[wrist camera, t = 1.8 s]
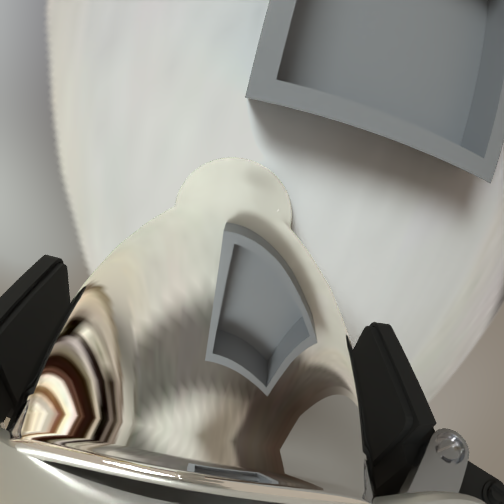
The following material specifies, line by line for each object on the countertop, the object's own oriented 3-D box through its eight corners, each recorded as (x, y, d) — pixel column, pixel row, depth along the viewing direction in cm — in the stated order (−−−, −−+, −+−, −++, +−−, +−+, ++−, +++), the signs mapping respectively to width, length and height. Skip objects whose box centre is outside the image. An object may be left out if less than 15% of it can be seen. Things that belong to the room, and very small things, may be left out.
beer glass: (236, 292, 19) (213, 566, 6) (143, 216, 17) (-24, 468, 4) (326, 213, 17) (453, 509, 4) (230, 119, 15) (22, 324, 1)
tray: (301, -101, 9) (309, -128, 6) (495, -13, 10) (524, -20, 7) (247, 97, 14) (245, 97, 12) (460, 168, 15) (490, 183, 13)
